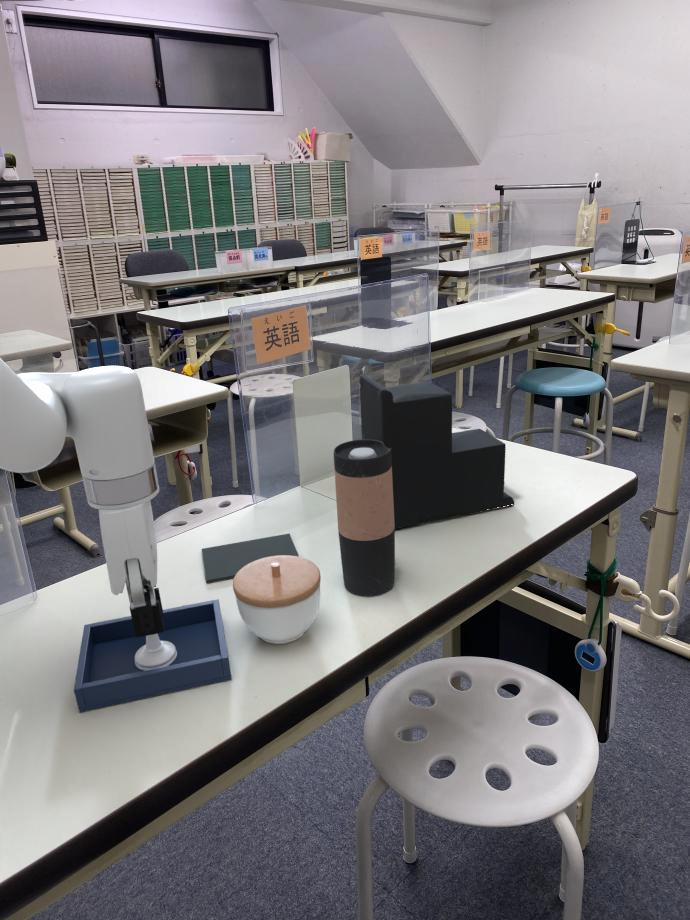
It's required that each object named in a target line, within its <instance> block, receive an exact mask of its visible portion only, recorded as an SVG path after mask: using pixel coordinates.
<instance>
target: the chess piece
mask: <svg viewBox="0 0 690 920" xmlns="http://www.w3.org/2000/svg"><path fill="white" fill-rule="evenodd" d="M144 592H147V591H146V590H145V589H144ZM176 656H177V651H176V648H175V646H174V645H173V644H172V643H171V642H168V641H160V639H159V637H158V634H153V635H148V636H146V645H144V646H142V647H141V648H140V649H139V650H138V651H137V652H136V654H135V665H136V666H137V667H138V668H139V669H141V670H145V671H147V670H152V669H156V668H161V667H166V666H168V665H170V664H171V663H172V662H173V661H174V660H175V658H176Z"/></svg>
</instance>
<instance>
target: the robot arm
mask: <svg viewBox="0 0 690 920" xmlns="http://www.w3.org/2000/svg"><path fill="white" fill-rule="evenodd" d="M67 437H68V438H71V439H72V440H73V442H74V446H75V451H76V455H77V456H76V457H77V460H78V464H79V469H80V473H81V477H82V482H83V483H82V484H83V487H84V492H85V496H86V497H85V498H86V500H87V505H89V507H91V508H93V509H96V510H98V518H99V527H100V534H101V540H102V541H101V542H102V547H103V553H104V558H105V564H106V570H107V575H108V581H109V588H110V592H111V593H112V594H113V595H114V596H118V595H119V594H123V592H124V589H125V587H126V592H127V598H128V601H129V612H130V616H131V617H132V622H133V627H134V632H135V636H136V637H143V636H148V635H153V634H158V633H162V632H163V631H164V626H163V620H162V618H163V610H164V609H163V604H162V598H161V593H160V588H159V587H157V584H158V543H157V534H156V526H155V520H154V514H153V508H152V503H151V501H152V500H153V499H154V498H155V497H156V496H158V494H159V493H160V484H159V478H158V473H157V466H156V461H155V456H154V450H153V445H152V439H151V434H150V427H149V421H148V416H147V410H146V405H145V399H144V393H143V387H142V383H141V379H140V377H139V375H138V373H137V372H135V371H134V370H133V369H131V368H130V367H127V366H121V365H106V366H105V365H104V366H96V367H90V368H86V369H82V370H80V371H76V372H23V373H16V372H15V371H13V369H11V367H9V365H8V364H7V362H5V361H4V360H3V359H2V358H1V357H0V469H1V470H4V471H7V472H11V473H16V474H17V473H18V474H23V473H24V474H25V473H26V474H27V473H33V472H37V471H39V470H41V469H44V468H46V467H47V466H49V465H50V464H51V463H53V462H54V461H55V460H56V459H57V458H58V456H59V455H60V453H61V452H62V450H63V449H64V445H65V441H66V438H67ZM144 589H145V590H146V591H147V592H144Z"/></svg>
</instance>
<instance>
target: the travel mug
mask: <svg viewBox="0 0 690 920" xmlns="http://www.w3.org/2000/svg"><path fill="white" fill-rule="evenodd" d="M333 467H334V468H333V469H334V485H335V499H336V500H335V501H336V517H337V518H336V519H337V531H338V542H339V551H340V560H341V561H340V562H341V569H342V579H343V585H344V587H345V589H346V591H348V592H349V593H350V594H353V595H355V596H360V597H377V596H382V595H383V594H386V593H388V592H390V590H392V588H393V587H394V586H395V583H396V581H395V580H396V529H395V523H394V502H393V481H392V461H391V448H390V449H388V448H387V447H386V446H385V445H384V444H383V442H381V441H378V440H369V439H363V440H362V439H354V440H348V441H346V442H343V443H340V444H337V446H335V447H334V449H333Z"/></svg>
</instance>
